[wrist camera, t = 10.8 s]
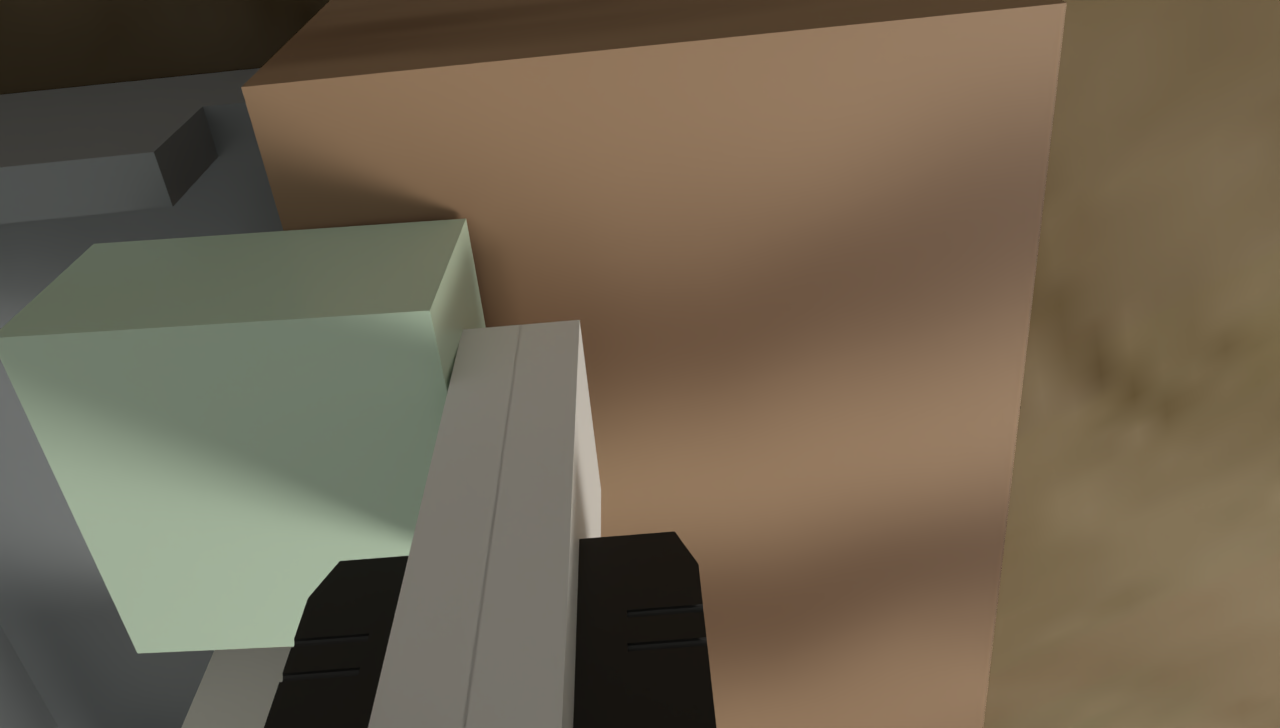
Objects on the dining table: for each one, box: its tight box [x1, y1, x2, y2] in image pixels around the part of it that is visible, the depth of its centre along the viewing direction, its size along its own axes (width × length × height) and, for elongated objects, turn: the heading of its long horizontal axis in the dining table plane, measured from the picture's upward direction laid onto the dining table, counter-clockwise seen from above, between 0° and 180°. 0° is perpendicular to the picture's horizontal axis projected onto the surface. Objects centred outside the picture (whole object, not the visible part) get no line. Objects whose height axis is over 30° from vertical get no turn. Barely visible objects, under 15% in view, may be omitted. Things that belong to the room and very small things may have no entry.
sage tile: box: [0, 219, 486, 653], centre depth 14 cm, size 5×5×2 cm
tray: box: [0, 68, 283, 728], centre depth 21 cm, size 18×10×4 cm, turn 5°
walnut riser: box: [241, 0, 1066, 728], centre depth 20 cm, size 20×10×5 cm, turn 5°
